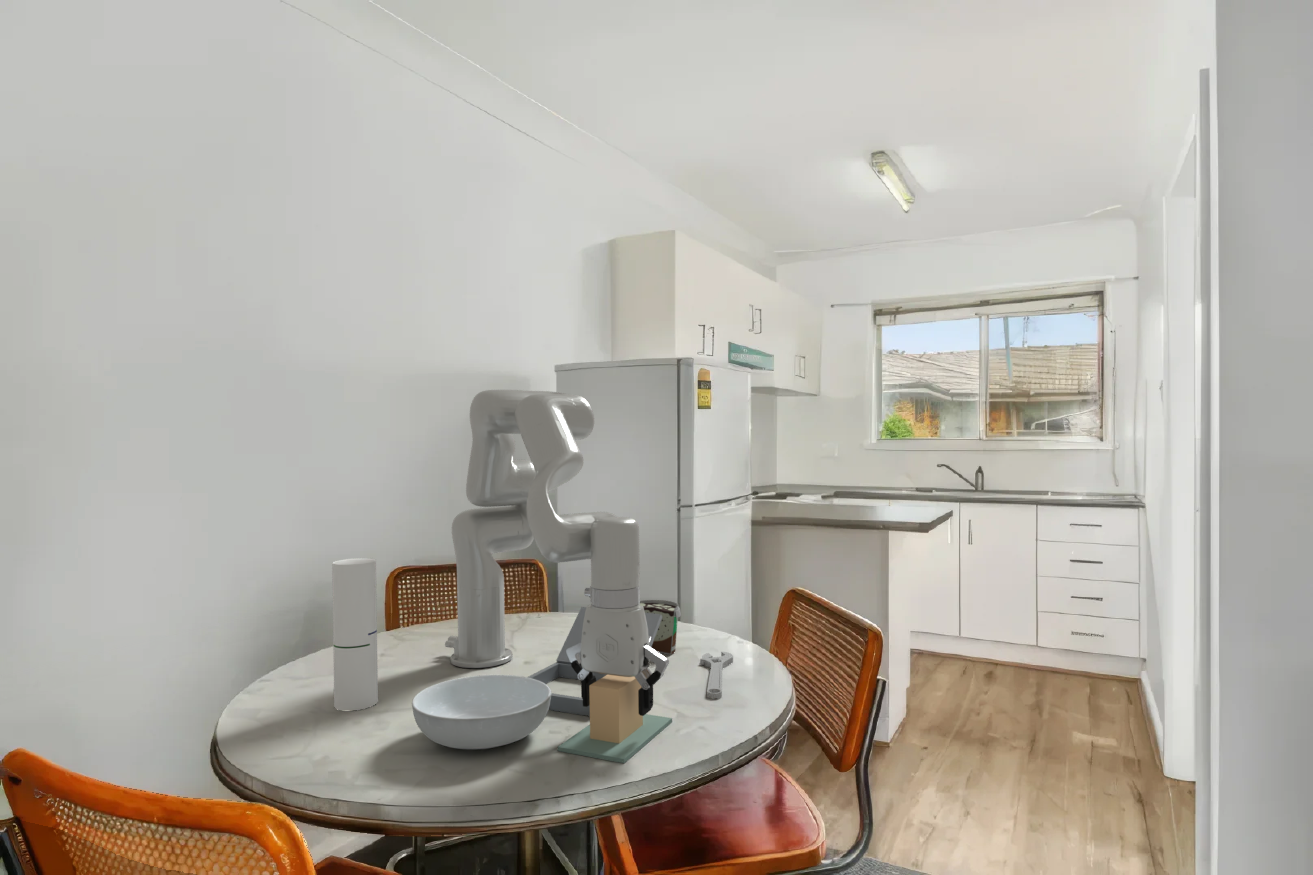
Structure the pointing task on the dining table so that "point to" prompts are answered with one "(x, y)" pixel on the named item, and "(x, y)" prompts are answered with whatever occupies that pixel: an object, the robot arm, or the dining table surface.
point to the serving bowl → (481, 710)
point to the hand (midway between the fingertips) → (616, 708)
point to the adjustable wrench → (716, 672)
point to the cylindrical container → (355, 633)
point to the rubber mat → (615, 751)
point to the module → (614, 708)
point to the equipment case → (565, 670)
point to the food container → (664, 624)
